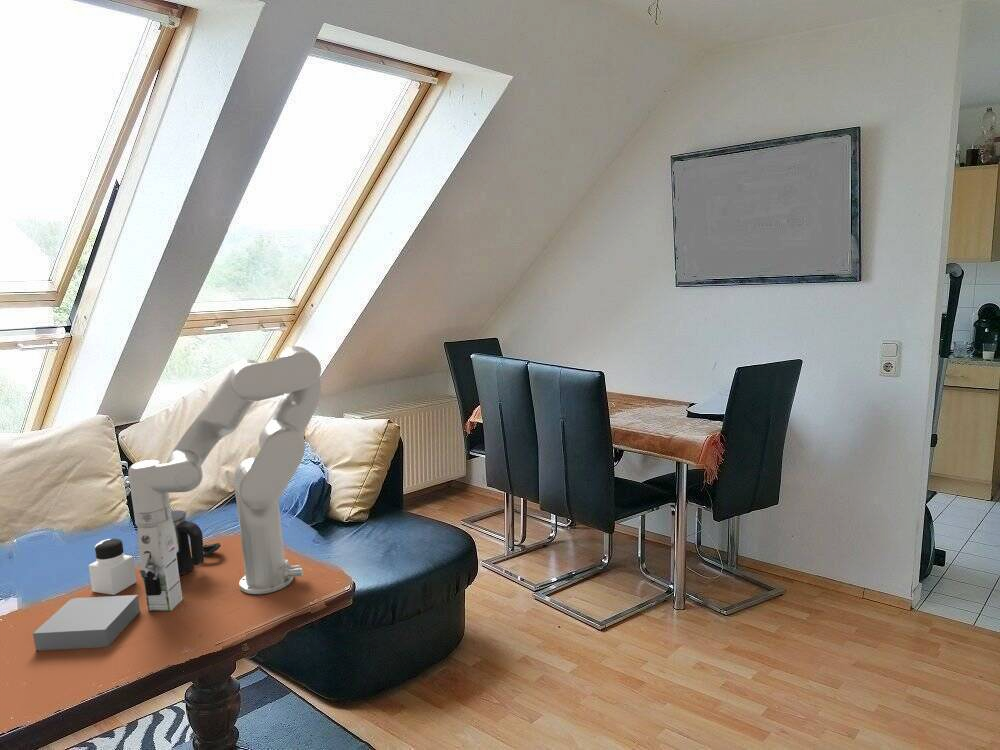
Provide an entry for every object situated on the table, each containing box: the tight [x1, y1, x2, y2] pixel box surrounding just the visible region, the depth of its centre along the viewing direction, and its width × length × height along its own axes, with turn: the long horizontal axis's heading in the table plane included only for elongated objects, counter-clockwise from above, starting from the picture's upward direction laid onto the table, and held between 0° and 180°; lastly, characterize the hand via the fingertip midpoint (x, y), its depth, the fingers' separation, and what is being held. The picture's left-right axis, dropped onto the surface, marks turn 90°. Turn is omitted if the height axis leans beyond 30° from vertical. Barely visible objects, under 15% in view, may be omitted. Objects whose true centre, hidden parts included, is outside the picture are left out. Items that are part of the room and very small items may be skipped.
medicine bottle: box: [88, 538, 138, 596], centre depth 181 cm, size 7×7×12 cm
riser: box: [32, 594, 141, 651], centre depth 162 cm, size 15×15×4 cm
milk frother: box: [171, 509, 222, 576], centre depth 192 cm, size 14×16×15 cm
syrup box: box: [143, 544, 183, 612], centre depth 170 cm, size 6×6×14 cm
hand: (162, 585), depth 171 cm, fingers open, 8 cm apart
